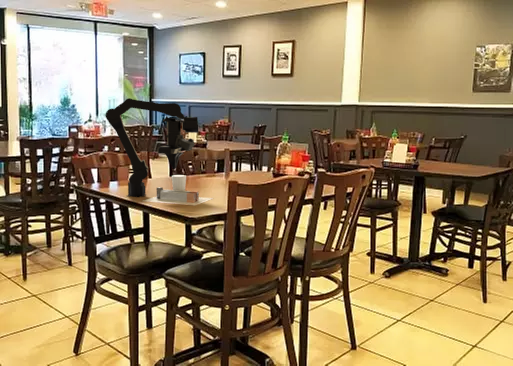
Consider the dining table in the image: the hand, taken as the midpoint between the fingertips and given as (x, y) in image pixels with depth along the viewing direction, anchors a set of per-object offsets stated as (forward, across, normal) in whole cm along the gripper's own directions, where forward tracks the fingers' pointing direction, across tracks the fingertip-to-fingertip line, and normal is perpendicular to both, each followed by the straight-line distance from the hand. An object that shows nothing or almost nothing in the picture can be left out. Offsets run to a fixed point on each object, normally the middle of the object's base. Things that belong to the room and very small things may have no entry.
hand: (174, 168), depth 224 cm
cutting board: (+12, -10, -7) cm, 17 cm away
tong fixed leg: (+12, -13, -8) cm, 19 cm away
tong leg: (+11, -11, -7) cm, 17 cm away
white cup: (+12, +16, +6) cm, 21 cm away
